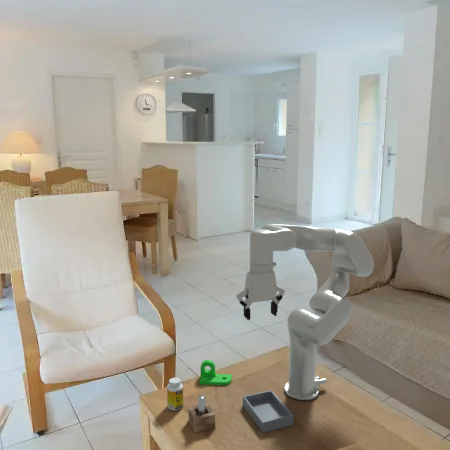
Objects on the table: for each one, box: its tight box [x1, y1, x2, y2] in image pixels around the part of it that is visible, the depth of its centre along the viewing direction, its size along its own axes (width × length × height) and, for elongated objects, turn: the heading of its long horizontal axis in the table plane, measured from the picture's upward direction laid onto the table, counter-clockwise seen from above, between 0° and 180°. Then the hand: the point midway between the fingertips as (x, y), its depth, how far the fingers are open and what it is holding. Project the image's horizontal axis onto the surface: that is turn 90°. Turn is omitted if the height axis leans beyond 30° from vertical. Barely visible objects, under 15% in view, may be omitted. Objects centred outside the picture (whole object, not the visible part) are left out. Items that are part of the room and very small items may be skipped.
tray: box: [242, 389, 294, 433], centre depth 157 cm, size 11×16×4 cm
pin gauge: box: [197, 394, 206, 415], centre depth 151 cm, size 2×2×10 cm
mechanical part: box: [199, 359, 233, 386], centre depth 177 cm, size 12×6×8 cm, turn 86°
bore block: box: [187, 402, 216, 434], centre depth 152 cm, size 7×7×5 cm
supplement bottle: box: [166, 377, 184, 412], centre depth 161 cm, size 6×6×10 cm
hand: (260, 316), depth 154 cm, fingers open, 9 cm apart
